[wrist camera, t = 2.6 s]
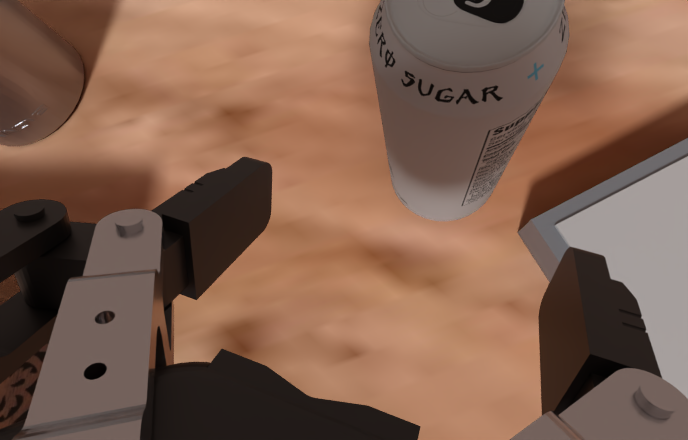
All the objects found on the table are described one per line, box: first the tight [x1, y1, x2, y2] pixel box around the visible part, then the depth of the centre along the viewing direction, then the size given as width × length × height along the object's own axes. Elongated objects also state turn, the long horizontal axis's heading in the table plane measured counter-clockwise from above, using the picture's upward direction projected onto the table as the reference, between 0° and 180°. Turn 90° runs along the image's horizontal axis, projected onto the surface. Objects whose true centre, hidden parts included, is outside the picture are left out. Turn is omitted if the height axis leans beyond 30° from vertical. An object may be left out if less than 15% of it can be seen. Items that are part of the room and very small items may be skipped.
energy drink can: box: [369, 0, 569, 221], centre depth 19 cm, size 6×6×15 cm
